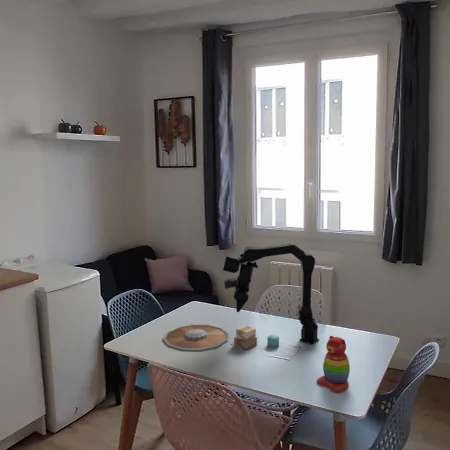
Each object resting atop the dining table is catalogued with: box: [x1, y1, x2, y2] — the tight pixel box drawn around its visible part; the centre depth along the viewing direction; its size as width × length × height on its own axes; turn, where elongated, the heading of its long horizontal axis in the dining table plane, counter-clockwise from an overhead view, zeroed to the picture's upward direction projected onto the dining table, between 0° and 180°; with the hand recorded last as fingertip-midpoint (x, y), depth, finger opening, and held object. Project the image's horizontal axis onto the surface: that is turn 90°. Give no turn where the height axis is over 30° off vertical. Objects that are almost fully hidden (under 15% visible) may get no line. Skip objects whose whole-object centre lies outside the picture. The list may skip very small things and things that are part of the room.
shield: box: [162, 323, 229, 352], centre depth 217 cm, size 30×3×30 cm
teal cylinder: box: [266, 334, 280, 349], centre depth 207 cm, size 5×5×4 cm
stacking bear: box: [316, 335, 351, 394], centre depth 172 cm, size 11×10×18 cm
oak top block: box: [235, 325, 257, 341], centre depth 207 cm, size 6×6×4 cm
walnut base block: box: [233, 336, 258, 351], centre depth 208 cm, size 7×7×4 cm
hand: (238, 308), depth 212 cm, fingers open, 9 cm apart
